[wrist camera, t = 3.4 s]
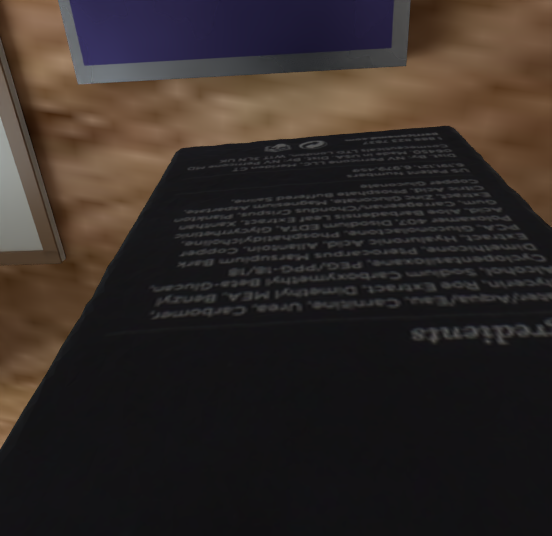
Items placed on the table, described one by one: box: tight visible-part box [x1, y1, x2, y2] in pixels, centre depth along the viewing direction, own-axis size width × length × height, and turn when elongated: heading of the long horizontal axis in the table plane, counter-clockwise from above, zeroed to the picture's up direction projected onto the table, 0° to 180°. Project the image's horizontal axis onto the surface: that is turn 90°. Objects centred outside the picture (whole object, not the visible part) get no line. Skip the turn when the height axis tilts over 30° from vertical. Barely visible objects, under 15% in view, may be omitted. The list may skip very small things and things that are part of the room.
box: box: [0, 126, 552, 536], centre depth 8 cm, size 9×6×10 cm, turn 4°
